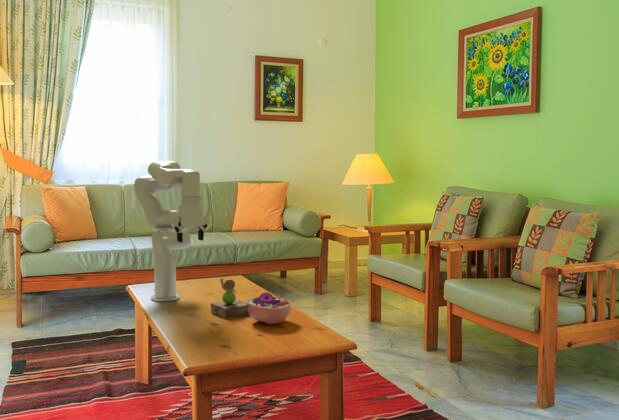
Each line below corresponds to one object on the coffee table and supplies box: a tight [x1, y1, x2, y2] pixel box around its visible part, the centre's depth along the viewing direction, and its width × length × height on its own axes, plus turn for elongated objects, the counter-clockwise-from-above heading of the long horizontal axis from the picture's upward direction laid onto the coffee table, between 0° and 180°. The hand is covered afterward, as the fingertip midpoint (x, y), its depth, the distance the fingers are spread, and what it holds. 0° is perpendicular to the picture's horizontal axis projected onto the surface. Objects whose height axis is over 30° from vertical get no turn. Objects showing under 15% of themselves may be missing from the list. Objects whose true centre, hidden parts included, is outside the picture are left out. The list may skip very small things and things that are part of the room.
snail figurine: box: [219, 274, 237, 304], centre depth 259 cm, size 5×6×12 cm
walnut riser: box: [210, 299, 250, 320], centre depth 260 cm, size 12×12×4 cm
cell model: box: [245, 292, 292, 325], centre depth 246 cm, size 17×20×11 cm
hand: (190, 241), depth 263 cm, fingers open, 9 cm apart
